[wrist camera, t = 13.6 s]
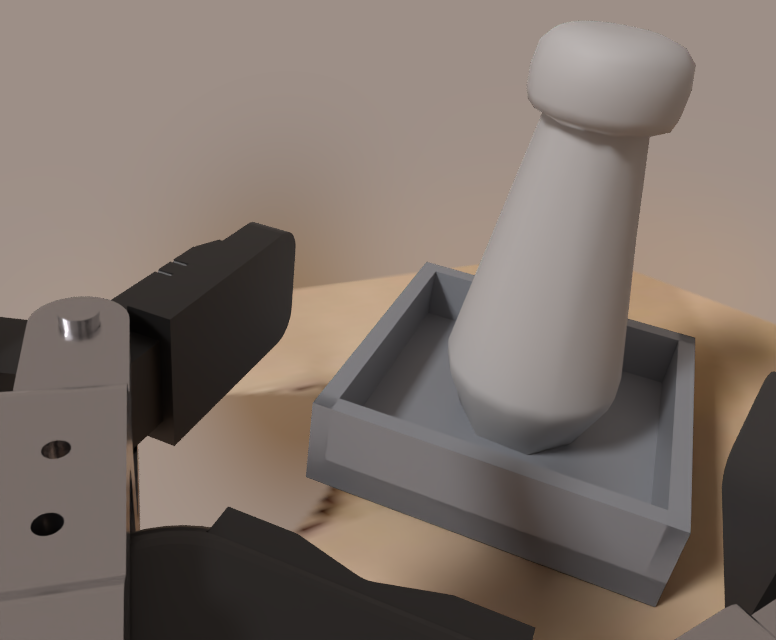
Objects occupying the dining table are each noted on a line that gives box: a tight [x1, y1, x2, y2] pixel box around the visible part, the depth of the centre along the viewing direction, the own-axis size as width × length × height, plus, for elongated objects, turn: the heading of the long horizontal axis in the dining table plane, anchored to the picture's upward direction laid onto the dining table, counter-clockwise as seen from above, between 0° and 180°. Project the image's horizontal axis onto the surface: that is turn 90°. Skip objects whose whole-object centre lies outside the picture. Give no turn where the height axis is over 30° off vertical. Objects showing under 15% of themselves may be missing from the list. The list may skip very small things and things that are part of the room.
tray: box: [306, 262, 695, 607], centre depth 26 cm, size 11×11×3 cm
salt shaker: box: [448, 21, 696, 455], centre depth 23 cm, size 6×6×13 cm
